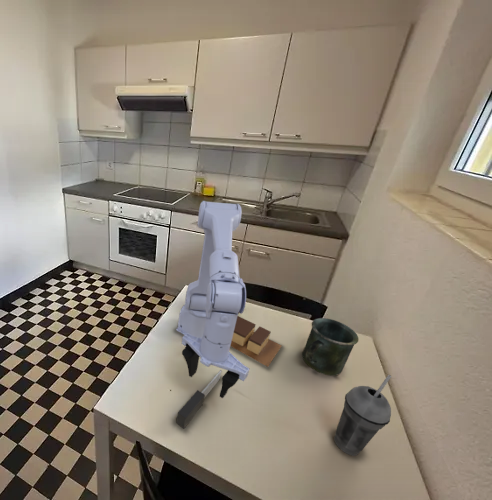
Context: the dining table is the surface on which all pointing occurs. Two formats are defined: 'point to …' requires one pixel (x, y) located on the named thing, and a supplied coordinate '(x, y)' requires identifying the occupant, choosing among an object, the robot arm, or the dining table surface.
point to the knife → (195, 403)
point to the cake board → (264, 355)
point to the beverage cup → (362, 418)
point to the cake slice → (258, 340)
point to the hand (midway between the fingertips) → (207, 383)
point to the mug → (329, 346)
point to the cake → (242, 331)
